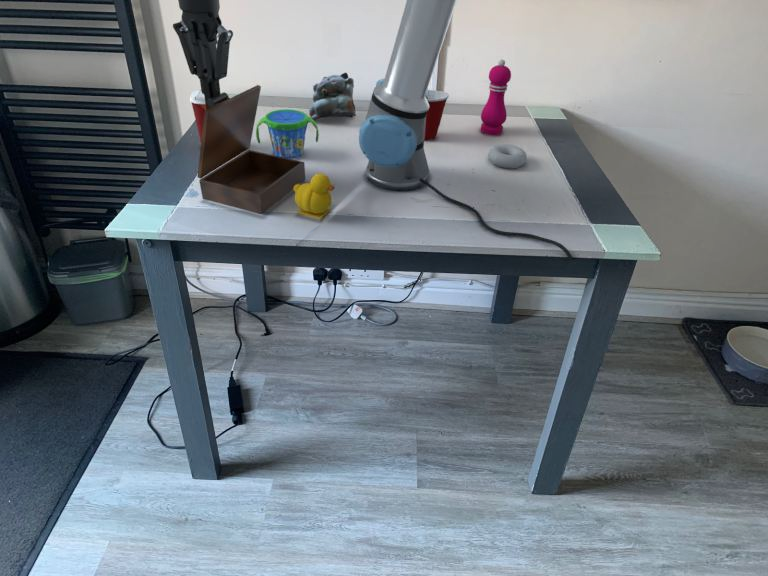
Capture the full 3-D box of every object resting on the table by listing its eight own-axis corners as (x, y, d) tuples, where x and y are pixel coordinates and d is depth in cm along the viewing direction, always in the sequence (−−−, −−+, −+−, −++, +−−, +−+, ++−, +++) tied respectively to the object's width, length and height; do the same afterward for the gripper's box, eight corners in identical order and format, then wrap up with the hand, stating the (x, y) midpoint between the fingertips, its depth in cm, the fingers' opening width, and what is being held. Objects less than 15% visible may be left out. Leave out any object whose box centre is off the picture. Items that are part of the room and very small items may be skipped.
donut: (530, 160, 147) (494, 151, 150) (533, 148, 145) (497, 138, 148) (518, 174, 140) (481, 164, 143) (520, 161, 138) (483, 151, 141)
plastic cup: (435, 127, 162) (439, 85, 155) (450, 141, 154) (455, 98, 147) (400, 130, 160) (403, 88, 152) (414, 145, 151) (417, 101, 144)
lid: (261, 86, 123) (241, 75, 123) (208, 112, 109) (186, 100, 109) (249, 148, 133) (231, 138, 134) (200, 178, 120) (180, 167, 120)
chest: (305, 182, 132) (304, 161, 129) (262, 217, 119) (259, 195, 115) (250, 169, 137) (248, 149, 134) (203, 201, 123) (199, 179, 120)
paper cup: (220, 154, 143) (212, 100, 135) (192, 151, 144) (182, 96, 136) (233, 143, 149) (226, 90, 141) (206, 139, 150) (197, 87, 142)
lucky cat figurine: (300, 120, 164) (298, 71, 162) (324, 125, 174) (323, 78, 172) (342, 115, 156) (340, 63, 154) (365, 120, 166) (364, 72, 164)
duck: (288, 215, 120) (284, 173, 114) (302, 203, 124) (300, 162, 118) (327, 225, 117) (325, 183, 111) (340, 212, 121) (339, 171, 115)
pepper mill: (509, 133, 161) (521, 61, 149) (490, 138, 158) (501, 64, 146) (491, 125, 166) (502, 54, 154) (473, 129, 162) (483, 58, 150)
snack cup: (320, 146, 149) (318, 109, 143) (318, 163, 141) (316, 124, 134) (261, 146, 148) (257, 108, 142) (255, 163, 140) (251, 123, 134)
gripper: (237, -11, 106) (249, 110, 121) (182, -20, 110) (199, 99, 124) (213, -6, 101) (227, 121, 115) (155, -15, 105) (177, 109, 119)
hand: (213, 110), depth 120 cm, fingers closed
